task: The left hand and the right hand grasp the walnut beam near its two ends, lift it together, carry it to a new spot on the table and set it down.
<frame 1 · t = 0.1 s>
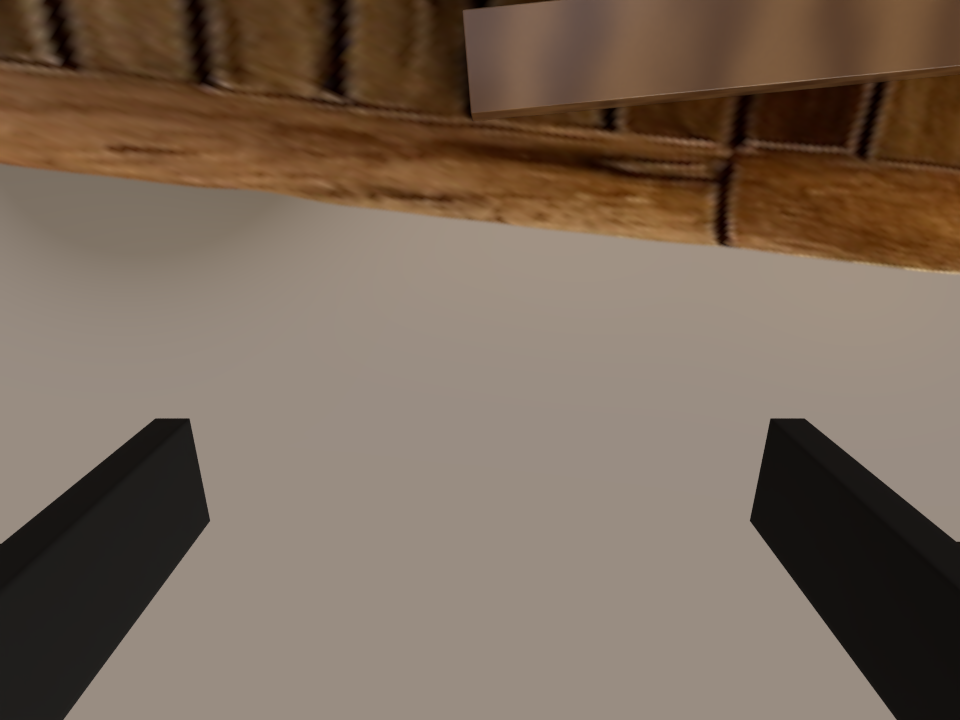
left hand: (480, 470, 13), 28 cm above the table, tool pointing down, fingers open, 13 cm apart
beam: (851, 43, 34), on the table
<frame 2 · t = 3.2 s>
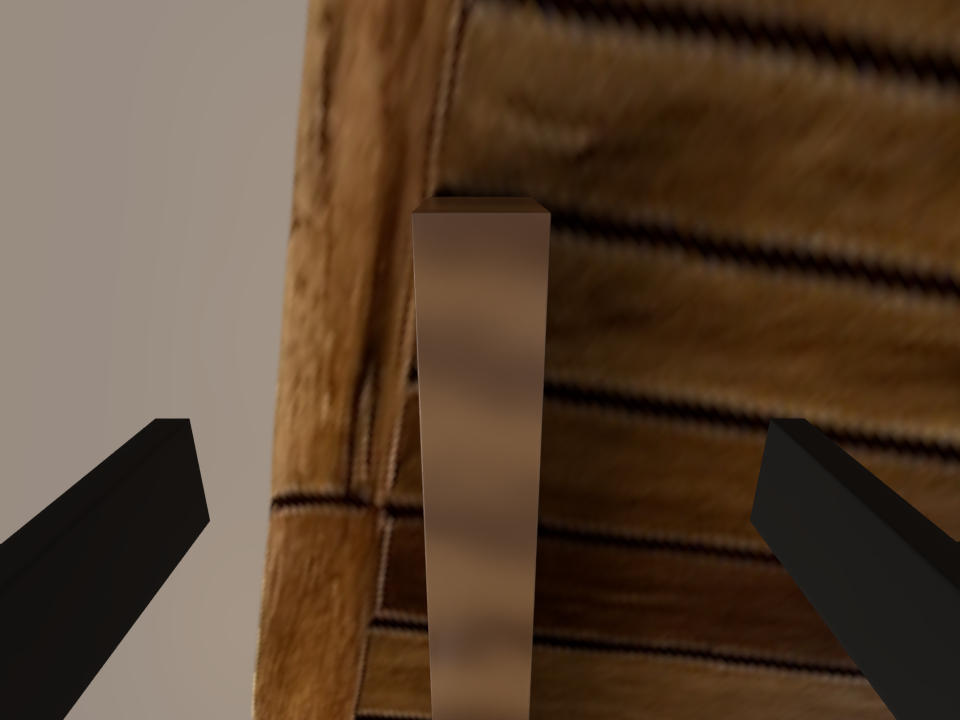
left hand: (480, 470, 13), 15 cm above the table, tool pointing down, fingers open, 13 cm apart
beam: (480, 602, 34), on the table, touching right hand
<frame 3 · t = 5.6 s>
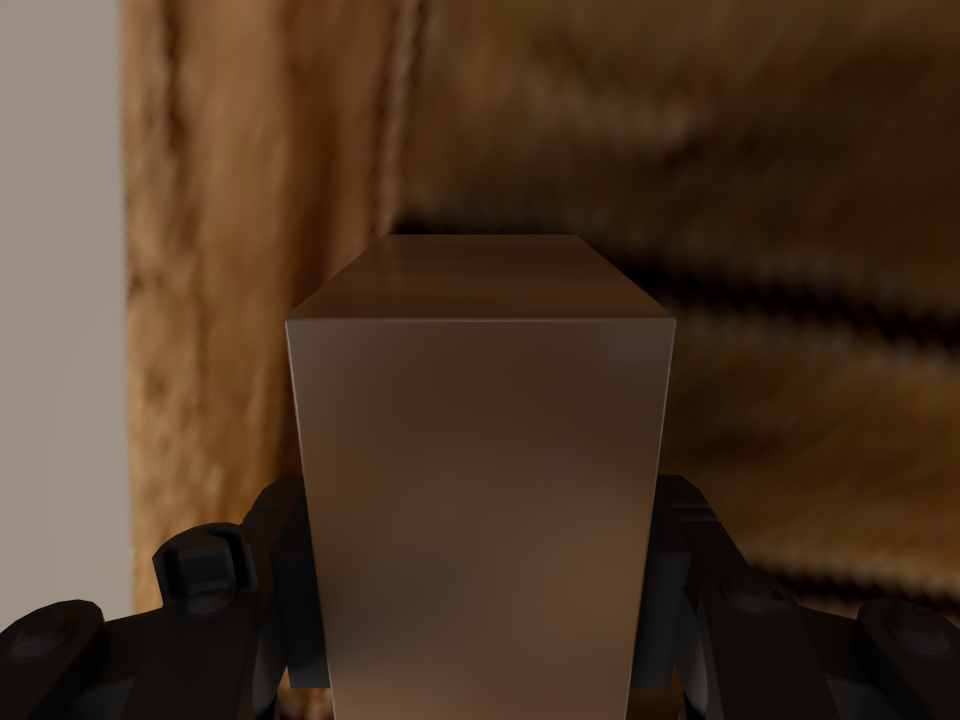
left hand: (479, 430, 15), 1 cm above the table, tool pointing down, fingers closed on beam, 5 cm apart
when the left hand's fingers open (2 cm above the table, at t = 9.2 s): beam drops 2 cm, on the table.
when the right hand's fingers open (2 cm above the table, at t = 9.2 s): beam drops 2 cm, on the table.
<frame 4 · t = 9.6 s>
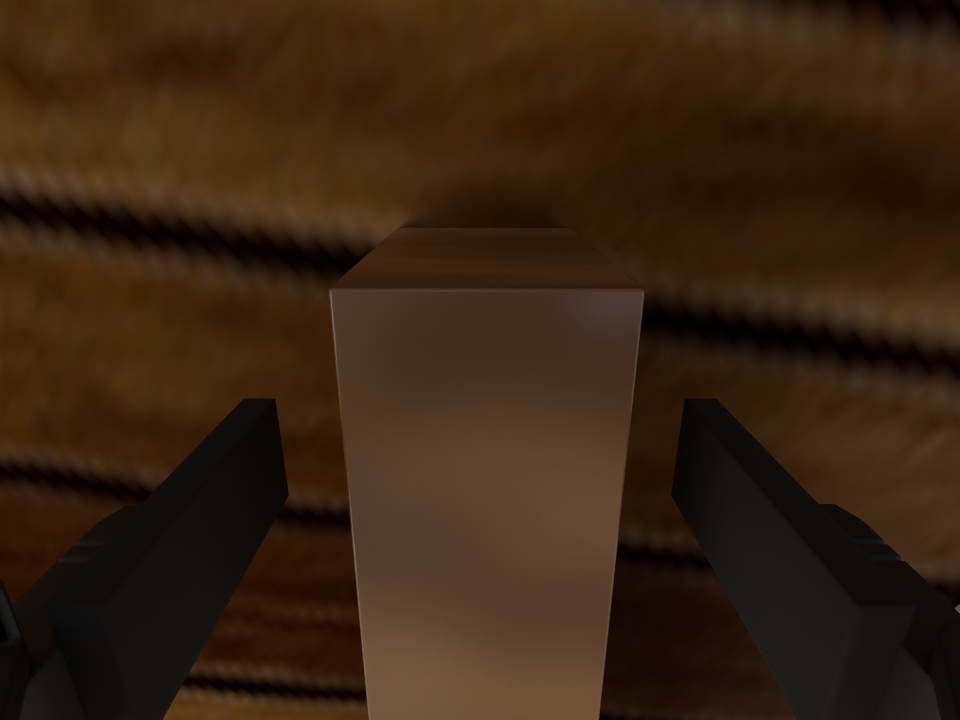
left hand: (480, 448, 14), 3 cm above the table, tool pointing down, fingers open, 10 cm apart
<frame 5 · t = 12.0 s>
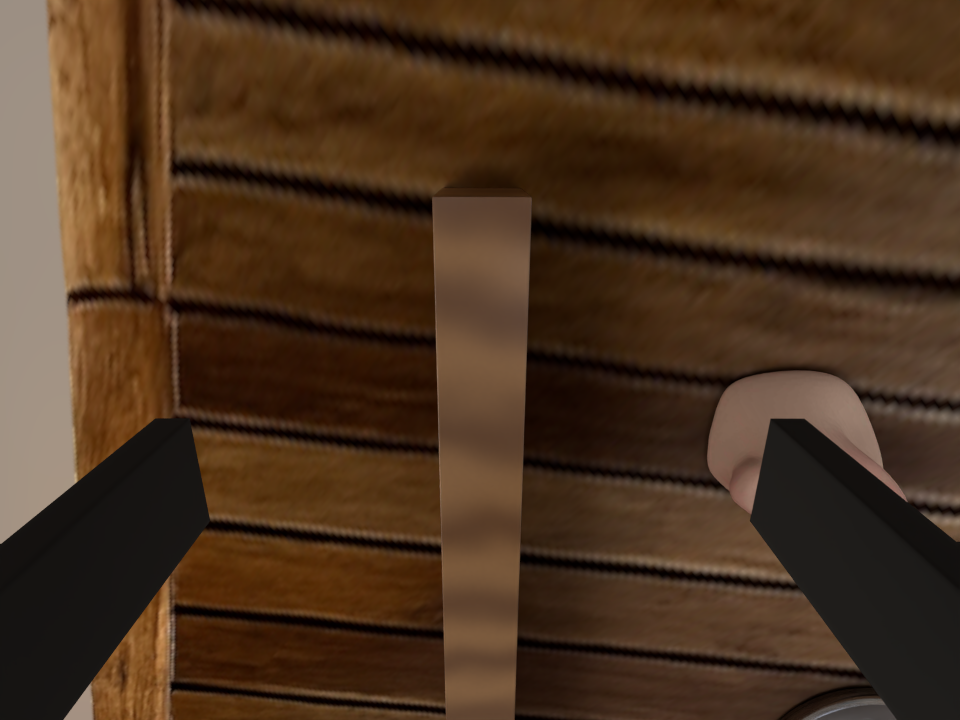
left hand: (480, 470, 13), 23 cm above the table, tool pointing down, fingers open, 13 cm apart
beam: (480, 521, 41), on the table
beige rounded piece: (789, 447, 39), on the table
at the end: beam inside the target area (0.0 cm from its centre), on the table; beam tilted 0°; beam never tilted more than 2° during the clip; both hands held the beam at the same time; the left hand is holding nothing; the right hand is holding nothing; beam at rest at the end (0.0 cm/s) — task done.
